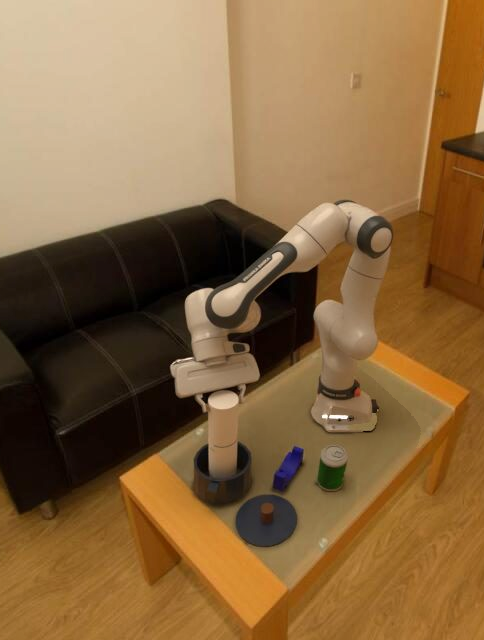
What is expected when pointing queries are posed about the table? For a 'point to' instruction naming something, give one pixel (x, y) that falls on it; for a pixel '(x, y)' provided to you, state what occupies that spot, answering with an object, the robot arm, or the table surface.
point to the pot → (222, 488)
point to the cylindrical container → (223, 434)
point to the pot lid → (266, 520)
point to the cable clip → (288, 468)
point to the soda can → (332, 468)
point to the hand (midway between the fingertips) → (224, 407)
